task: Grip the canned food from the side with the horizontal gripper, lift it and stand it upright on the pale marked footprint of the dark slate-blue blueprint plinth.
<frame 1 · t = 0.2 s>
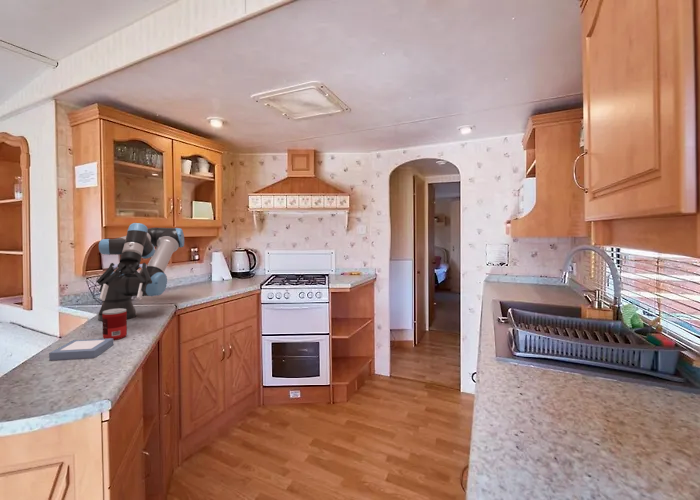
hand: (120, 299, 134), 15 cm above the countertop, tool tilted 35°, fingers open, 13 cm apart
canned food: (115, 337, 131), on the countertop
blueprint plinth: (83, 352, 114), on the countertop
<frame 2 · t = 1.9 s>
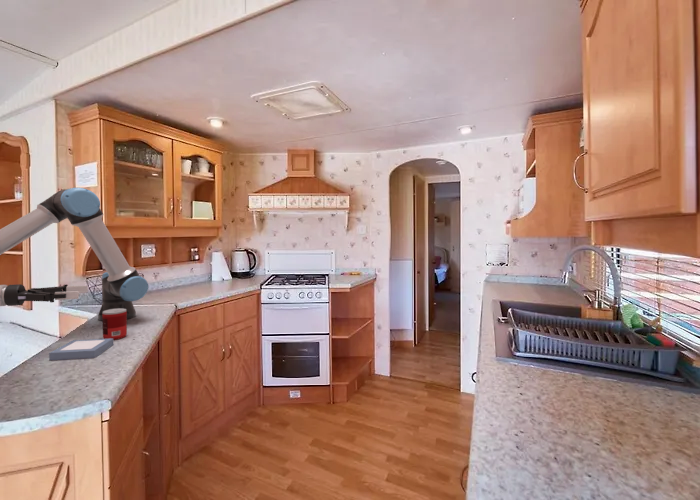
hand: (83, 291, 125), 19 cm above the countertop, tool horizontal, fingers open, 13 cm apart
nothing on the countertop moved.
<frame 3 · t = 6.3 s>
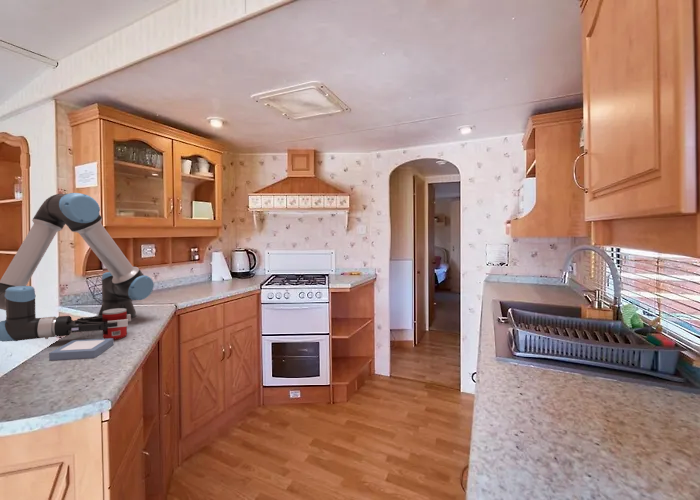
hand: (129, 320, 132), 7 cm above the countertop, tool horizontal, fingers closed on canned food, 8 cm apart
canned food: (115, 337, 131), on the countertop, touching gripper
when the fingers open (10 cm above the countertop, at t = 11.5 s): canned food drops 1 cm, resting on blueprint plinth.
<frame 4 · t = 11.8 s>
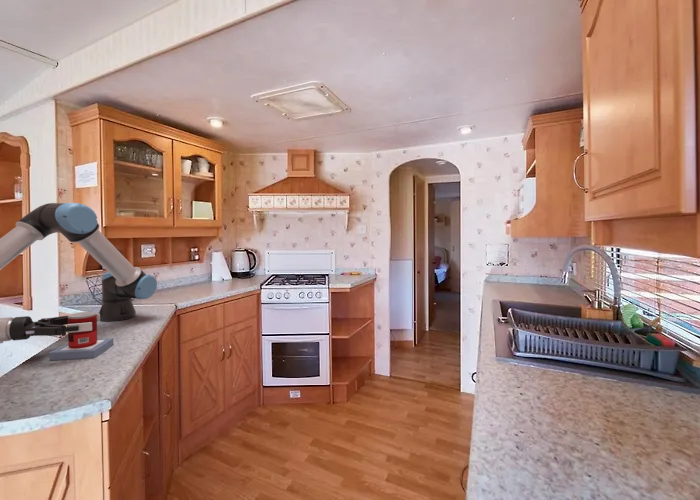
hand: (96, 321, 115), 10 cm above the countertop, tool horizontal, fingers open, 12 cm apart
canned food: (83, 345, 114), point 2 cm above the countertop, touching blueprint plinth
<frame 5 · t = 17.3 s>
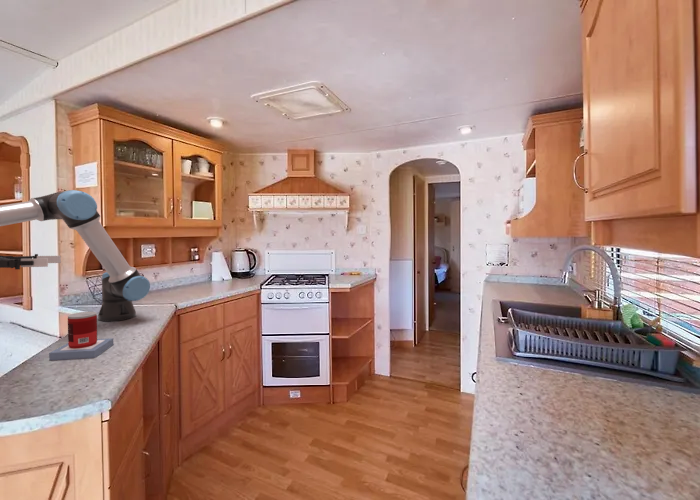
hand: (54, 260, 115), 32 cm above the countertop, tool horizontal, fingers open, 13 cm apart
nothing on the countertop moved.
at the end: canned food 0.1 cm off-centre on the blueprint plinth, point 2.4 cm above the blueprint plinth's base; canned food tilted 0°; the gripper is holding nothing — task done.
